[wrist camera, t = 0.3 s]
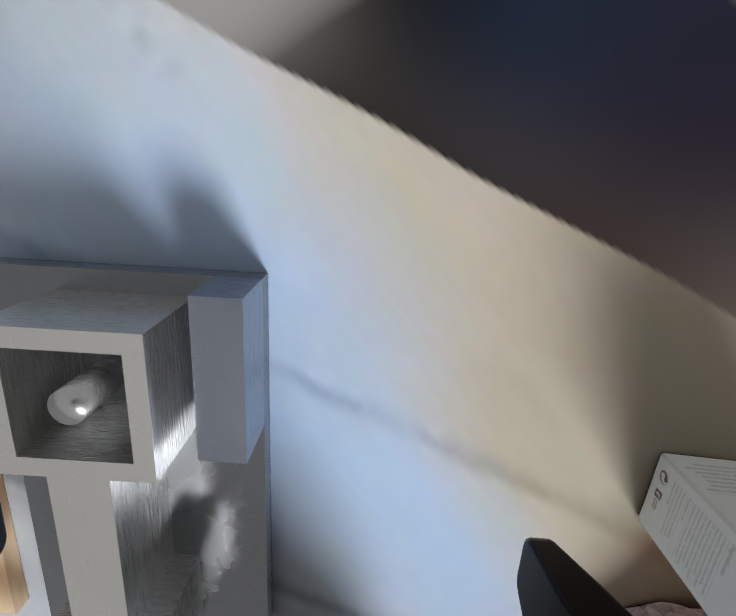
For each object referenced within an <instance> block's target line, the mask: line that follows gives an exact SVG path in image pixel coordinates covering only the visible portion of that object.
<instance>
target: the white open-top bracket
mask: <svg viewBox="0 0 736 616" xmlns="http://www.w3.org/2000/svg"><path fill="white" fill-rule="evenodd" d="M82 353H96V354H112V355H121V357H122V366H123V374H124V383H125V392H126V401H124V400H108V399H107V400H106V401H105V402H103V403H102V404H101V405H100V406H99V407H98V408H97V409H95V410H94V411H93V412H92V413H91V414H90V415H89V416H87V417H86V418H85V419H84V420H83V421H82V422H80V423H79V424H76V425H65V424H62V423H60V422H58V421H57V420H55V419H54V418H53V417H52V416H51V414H50V413H49V411H48V408H47V401H48V398H49V396H50V395H51V394H52V393H54V392H55V391H57V390H58V389H59V388H61V387H62V386H64V385H65V384H66V383H68V382H69V381H71V380H72V379H73V378H75V377H76V376H78V375H79V374H81V373H82V372H83V371H84V365H83V358H82ZM195 428H196V420H195V404H194V389H193V374H192V359H191V344H190V329H189V313H188V298H187V297H178V296H161V295H144V294H127V293H110V292H93V291H76V290H59V289H54V290H51V291H49V292H46V293H44V294H41V295H39V296H36V297H34V298H31V299H29V300H26V301H24V302H21V303H18V304H16V305H13V306H11V307H8V308H6V309H3V310H1V311H0V474H12V475H28V476H44V477H46V478H47V483H48V488H49V494H50V499H51V505H52V510H53V516H54V521H55V527H56V532H57V538H58V543H59V549H60V554H61V560H62V565H63V571H64V576H65V582H66V587H67V593H68V598H69V599H68V600H67V602H66V603H65V605H64V606H63V607H62V609H61V610H60V612H59V613H58V614H57V616H203V614H204V611H203V597H202V583H201V568H200V555H189V554H175V551H174V540H173V529H172V518H171V507H170V496H169V485H168V474H167V468H168V467H169V466H170V464H171V463H172V461H173V460H174V458H175V457H176V455H177V454H178V452H179V451H180V450H181V448H182V447H183V445H184V444H185V442H186V441H187V439H188V438H189V437H190V435H191V434H192V432H193V431H194V429H195Z"/></svg>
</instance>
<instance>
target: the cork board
mask: <svg viewBox="0 0 736 616" xmlns="http://www.w3.org/2000/svg"><path fill="white" fill-rule="evenodd" d="M0 502H1V506H2V511H3V517H4V522H5V527H6V533H7V539H6V544H5V547H4V549H3V551H2V553H1V554H0V614H13V615H16V614H17V613H18V611H19V610H20V609H21V608H22V607H23V605H24V604H25V603H26V602H27V600H28V599H29V597H28V592H27V588H26V583H25V579H24V574H23V569H22V565H21V560H20V555H19V551H18V546H17V542H16V537H15V532H14V528H13V523H12V518H11V514H10V509H9V504H8V500H7V495H6V491H5V486H4V481H3V477H2V474H0Z"/></svg>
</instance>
